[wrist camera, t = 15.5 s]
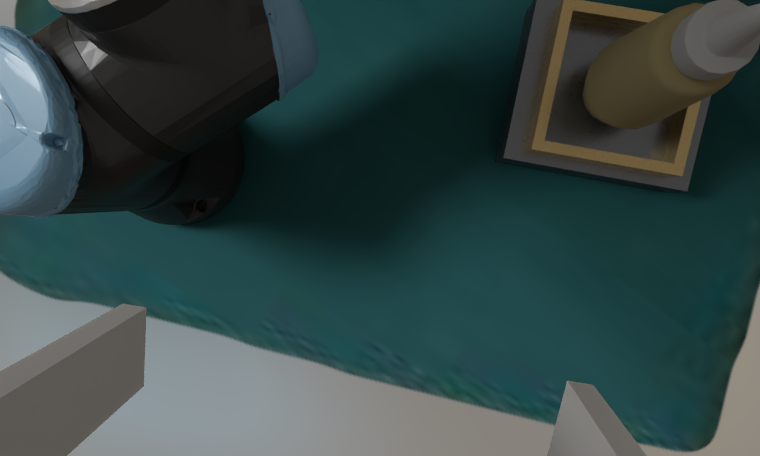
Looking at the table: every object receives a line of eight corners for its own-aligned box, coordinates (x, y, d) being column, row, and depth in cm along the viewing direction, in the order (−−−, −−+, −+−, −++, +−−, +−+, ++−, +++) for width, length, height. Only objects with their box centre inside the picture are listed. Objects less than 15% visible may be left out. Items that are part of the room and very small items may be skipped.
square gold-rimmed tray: (495, 161, 46) (508, 155, 40) (526, 11, 44) (544, -18, 38) (662, 191, 45) (701, 190, 39) (699, 40, 43) (745, 14, 38)
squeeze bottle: (674, 89, 40) (888, 1, 22) (613, 153, 41) (773, 117, 23) (611, 33, 40) (775, -101, 22) (552, 97, 41) (664, 18, 23)
